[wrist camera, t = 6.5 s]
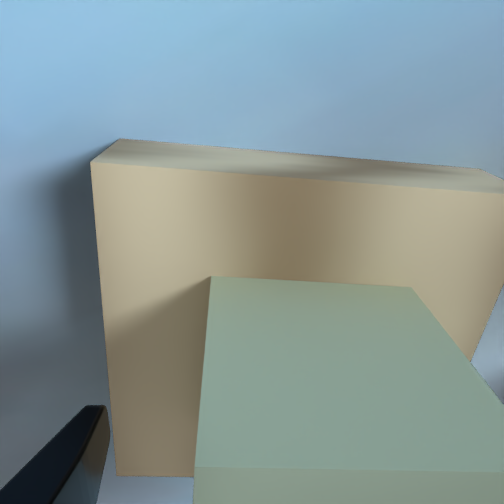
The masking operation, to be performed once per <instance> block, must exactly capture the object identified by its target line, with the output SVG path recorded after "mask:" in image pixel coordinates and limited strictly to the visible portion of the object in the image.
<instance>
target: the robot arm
mask: <svg viewBox="0 0 504 504" xmlns="http://www.w3.org/2000/svg"><path fill="white" fill-rule="evenodd" d="M109 441H110V427H109V419H108V412H107V408H106V406H105V405H87V406H85V407H84V408H83V409H82V410H81V411H80V412H79V413H78V414H77V415H76V416H75V417H74V418H73V419H72V420H71V421H70V422H69V423H68V424H67V425H66V426H65V427H64V428H62V429H61V430H60V431H59V432H58V433H57V434H56V435H55V436H54V437H53V438H52V439H51V440H50V441H49V442H48V443H47V444H46V445H45V446H44V447H43V448H42V449H41V450H40V451H39V452H38V453H37V454H36V455H35V456H34V457H33V458H32V459H31V460H30V461H29V462H28V463H27V464H26V465H25V466H24V467H23V468H22V469H21V470H20V471H19V472H18V473H17V474H16V475H15V476H14V477H13V478H12V479H11V480H10V481H9V482H8V483H7V484H6V485H5V486H4V487H3V488H2V489H1V490H0V504H96V502H97V497H98V493H99V488H100V483H101V479H102V474H103V469H104V465H105V460H106V455H107V451H108V446H109Z"/></svg>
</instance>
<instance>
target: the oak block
mask: <svg viewBox="0 0 504 504" xmlns="http://www.w3.org/2000/svg"><path fill="white" fill-rule="evenodd" d="M90 166H91V178H92V190H93V201H94V213H95V225H96V237H97V249H98V261H99V273H100V285H101V296H102V308H103V320H104V332H105V344H106V356H107V368H108V380H109V391H110V403H111V415H112V427H113V439H114V451H115V463H116V475H117V476H157V477H194V468H195V456H196V444H197V433H198V421H199V410H200V399H201V387H202V376H203V364H204V353H205V341H206V330H207V318H208V307H209V295H210V284H211V276H222V277H240V278H257V279H275V280H292V281H310V282H327V283H345V284H362V285H380V286H397V287H412V289H413V290H414V291H415V293H416V294H417V295H418V296H419V298H420V299H421V300H422V302H423V303H424V304H425V305H426V307H427V308H428V309H429V310H430V312H431V313H432V314H433V316H434V317H435V318H436V319H437V321H438V322H439V323H440V324H441V326H442V327H443V328H444V330H445V331H446V332H447V333H448V335H449V336H450V337H451V338H452V340H453V341H454V342H455V344H456V345H457V346H458V347H459V349H460V350H461V351H462V352H463V354H464V355H465V356H466V358H467V359H468V360H469V361H470V362H471V359H472V357H473V355H474V352H475V350H476V348H477V345H478V343H479V340H480V338H481V336H482V333H483V331H484V329H485V326H486V324H487V322H488V319H489V317H490V315H491V312H492V310H493V308H494V305H495V303H496V301H497V298H498V296H499V294H500V291H501V289H502V287H503V284H504V180H503V179H501V178H499V177H496V176H494V175H492V174H490V173H488V172H486V171H483V170H481V169H476V168H464V167H452V166H440V165H428V164H416V163H405V162H393V161H381V160H369V159H357V158H345V157H334V156H322V155H310V154H298V153H286V152H274V151H262V150H251V149H239V148H227V147H215V146H203V145H191V144H180V143H168V142H156V141H144V140H132V139H119V140H117V141H116V142H115V143H114V144H112V145H111V146H110V147H109V148H107V149H106V150H105V151H103V152H102V153H101V154H100V155H98V156H97V157H96V158H94V159H93V160H92V161H91V162H90Z"/></svg>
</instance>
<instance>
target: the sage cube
mask: <svg viewBox="0 0 504 504" xmlns="http://www.w3.org/2000/svg"><path fill="white" fill-rule="evenodd" d="M193 504H504V405H503V403H502V402H501V401H500V400H499V398H498V397H497V396H496V394H495V393H494V392H493V391H492V389H491V388H490V387H489V386H488V384H487V383H486V382H485V380H484V379H483V378H482V377H481V375H480V374H479V373H478V372H477V370H476V369H475V368H474V366H473V365H472V364H471V363H470V361H469V360H468V359H467V358H466V356H465V355H464V354H463V352H462V351H461V350H460V349H459V347H458V346H457V345H456V344H455V342H454V341H453V340H452V338H451V337H450V336H449V335H448V333H447V332H446V331H445V330H444V328H443V327H442V326H441V324H440V323H439V322H438V321H437V319H436V318H435V317H434V316H433V314H432V313H431V312H430V310H429V309H428V308H427V307H426V305H425V304H424V303H423V302H422V300H421V299H420V298H419V296H418V295H417V294H416V293H415V291H414V290H413V289H412V287H397V286H380V285H362V284H345V283H327V282H310V281H292V280H275V279H257V278H240V277H222V276H211V284H210V295H209V307H208V318H207V330H206V341H205V353H204V364H203V376H202V387H201V399H200V410H199V421H198V433H197V444H196V456H195V468H194V489H193Z"/></svg>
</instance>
